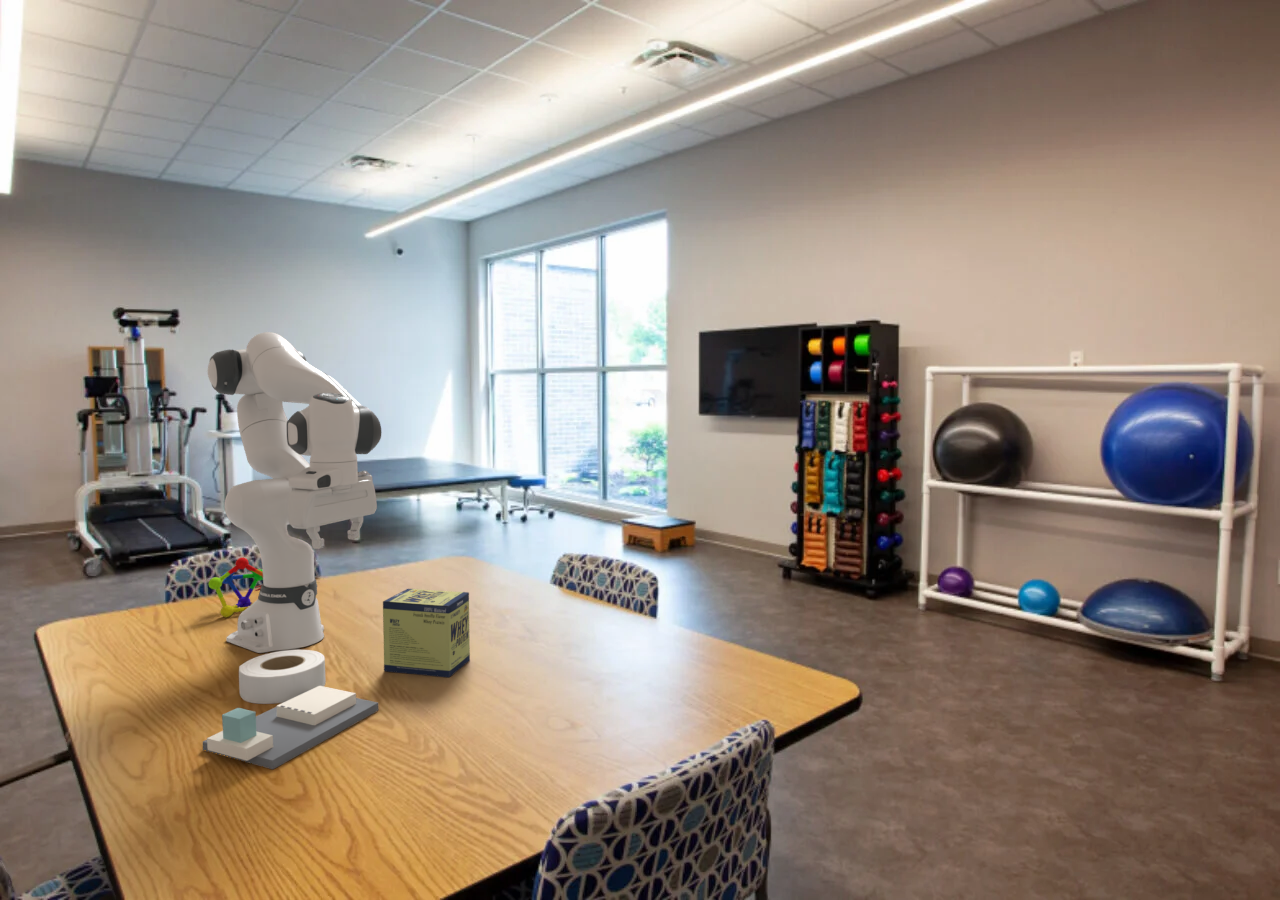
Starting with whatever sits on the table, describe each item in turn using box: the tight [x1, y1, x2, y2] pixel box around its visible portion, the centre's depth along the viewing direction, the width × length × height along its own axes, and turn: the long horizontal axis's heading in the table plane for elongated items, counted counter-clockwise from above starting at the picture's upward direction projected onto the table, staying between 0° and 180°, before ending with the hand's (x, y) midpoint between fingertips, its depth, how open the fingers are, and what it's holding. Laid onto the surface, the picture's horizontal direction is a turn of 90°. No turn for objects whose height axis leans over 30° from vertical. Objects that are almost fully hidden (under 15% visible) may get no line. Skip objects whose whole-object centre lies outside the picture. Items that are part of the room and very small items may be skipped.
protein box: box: [382, 588, 471, 678], centre depth 167 cm, size 10×16×16 cm
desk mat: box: [202, 697, 380, 770], centre depth 137 cm, size 16×24×2 cm, turn 157°
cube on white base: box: [206, 707, 273, 761], centre depth 126 cm, size 9×5×6 cm, turn 67°
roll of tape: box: [238, 649, 327, 705], centre depth 155 cm, size 16×16×6 cm
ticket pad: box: [275, 686, 357, 726], centre depth 141 cm, size 9×10×2 cm
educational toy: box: [208, 557, 263, 618], centre depth 205 cm, size 16×13×15 cm
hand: (336, 543), depth 155 cm, fingers open, 8 cm apart
